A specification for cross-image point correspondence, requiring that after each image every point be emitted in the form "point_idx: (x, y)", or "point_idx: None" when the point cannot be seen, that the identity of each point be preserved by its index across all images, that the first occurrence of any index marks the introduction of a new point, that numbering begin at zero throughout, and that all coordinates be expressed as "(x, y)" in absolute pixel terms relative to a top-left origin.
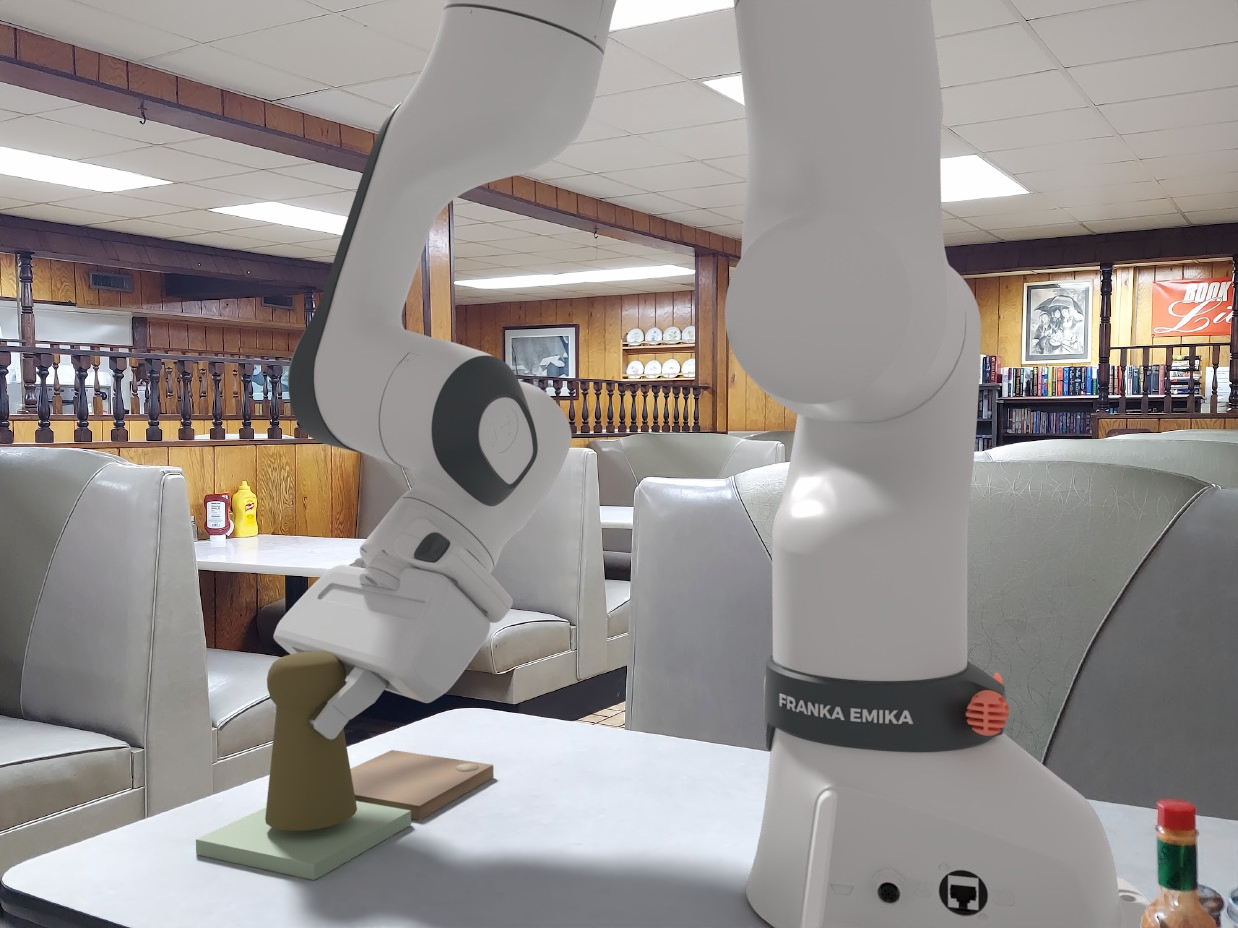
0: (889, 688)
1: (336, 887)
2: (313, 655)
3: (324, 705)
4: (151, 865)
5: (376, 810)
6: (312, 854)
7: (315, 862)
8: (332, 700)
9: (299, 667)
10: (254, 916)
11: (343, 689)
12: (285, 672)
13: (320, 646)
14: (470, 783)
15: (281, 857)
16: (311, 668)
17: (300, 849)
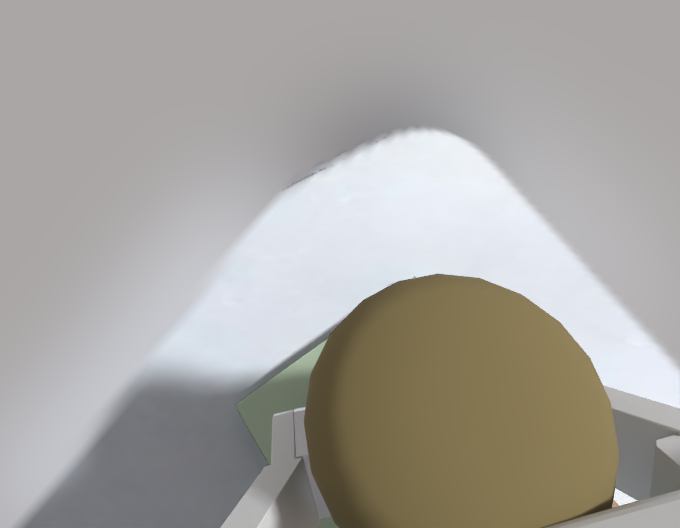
0: None
1: (200, 430)
2: (425, 428)
3: (302, 446)
4: (401, 237)
5: None
6: (272, 411)
7: (239, 408)
8: (276, 470)
9: (341, 351)
10: (186, 319)
11: (252, 516)
12: (360, 308)
13: (635, 518)
14: None
15: (287, 368)
16: (323, 397)
17: (300, 399)
